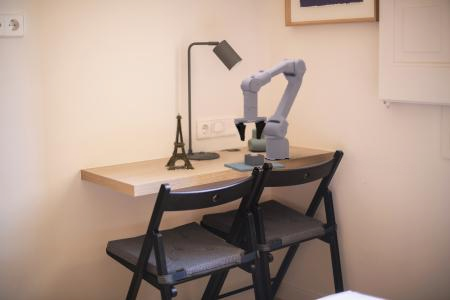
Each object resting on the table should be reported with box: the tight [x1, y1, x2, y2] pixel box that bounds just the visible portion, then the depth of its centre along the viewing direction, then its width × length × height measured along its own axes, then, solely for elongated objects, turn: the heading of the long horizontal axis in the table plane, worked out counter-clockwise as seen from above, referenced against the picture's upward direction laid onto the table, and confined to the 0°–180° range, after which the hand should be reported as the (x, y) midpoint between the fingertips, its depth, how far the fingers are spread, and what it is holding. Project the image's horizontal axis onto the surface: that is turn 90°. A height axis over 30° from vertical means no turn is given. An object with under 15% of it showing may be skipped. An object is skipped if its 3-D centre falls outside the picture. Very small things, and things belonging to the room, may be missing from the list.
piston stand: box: [224, 152, 286, 173], centre depth 270 cm, size 20×14×5 cm
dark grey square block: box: [244, 153, 265, 166], centre depth 270 cm, size 6×6×4 cm
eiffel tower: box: [164, 114, 195, 171], centre depth 267 cm, size 11×11×25 cm
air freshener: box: [247, 128, 266, 153], centre depth 309 cm, size 11×8×10 cm
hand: (250, 140), depth 279 cm, fingers open, 7 cm apart
